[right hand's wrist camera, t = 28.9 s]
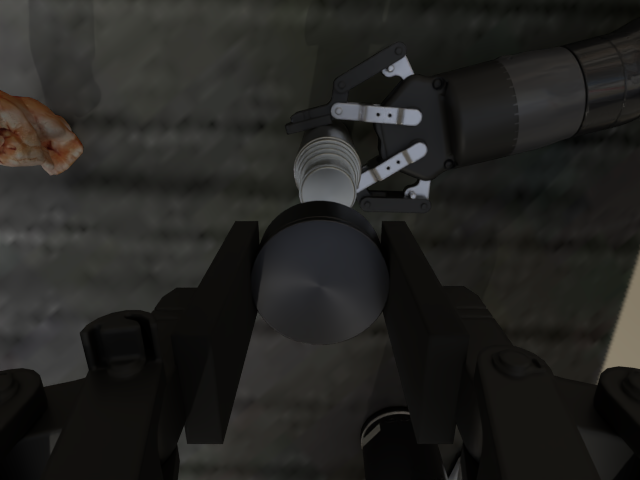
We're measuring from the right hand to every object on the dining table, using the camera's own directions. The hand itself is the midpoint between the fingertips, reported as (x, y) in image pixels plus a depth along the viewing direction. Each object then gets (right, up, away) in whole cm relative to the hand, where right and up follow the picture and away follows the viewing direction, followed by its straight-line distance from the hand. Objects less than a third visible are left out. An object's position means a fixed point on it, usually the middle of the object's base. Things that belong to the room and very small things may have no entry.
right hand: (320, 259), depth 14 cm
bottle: (+1, +10, +26) cm, 28 cm away
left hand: (-2, +7, +21) cm, 22 cm away
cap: (0, -1, -2) cm, 2 cm away
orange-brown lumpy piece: (-24, +12, +26) cm, 37 cm away
